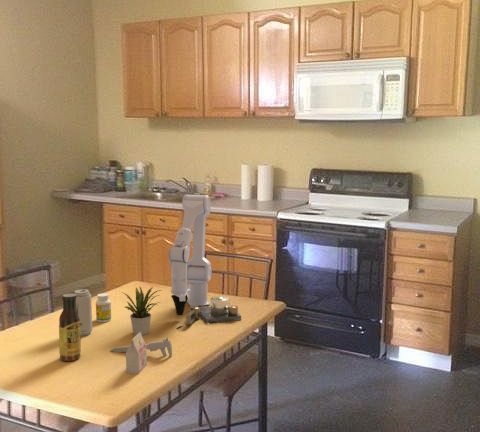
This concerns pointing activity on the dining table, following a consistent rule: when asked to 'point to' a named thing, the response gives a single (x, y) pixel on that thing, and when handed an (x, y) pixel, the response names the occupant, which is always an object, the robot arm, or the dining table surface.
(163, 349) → the caliper
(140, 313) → the house plant
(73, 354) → the sauce bottle
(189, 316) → the ball-topped bar
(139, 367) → the paper snack bag
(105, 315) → the supplement bottle
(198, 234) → the robot arm
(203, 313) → the levelling base
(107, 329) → the dining table surface
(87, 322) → the energy drink can
